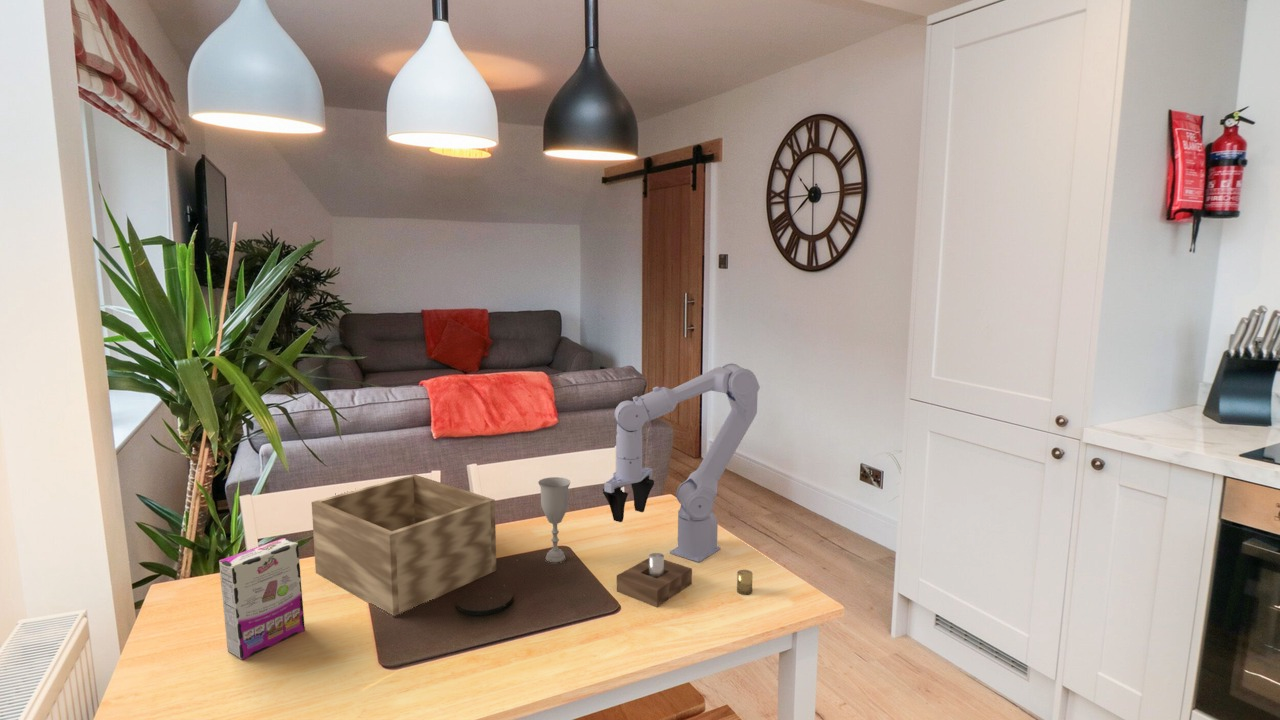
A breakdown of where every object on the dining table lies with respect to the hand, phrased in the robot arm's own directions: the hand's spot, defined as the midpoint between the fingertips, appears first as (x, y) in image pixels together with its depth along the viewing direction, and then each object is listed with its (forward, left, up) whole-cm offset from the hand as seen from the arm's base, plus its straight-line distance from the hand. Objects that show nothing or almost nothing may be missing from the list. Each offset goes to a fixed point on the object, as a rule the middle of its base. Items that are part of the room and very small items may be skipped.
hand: (629, 515), depth 148 cm
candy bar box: (+65, -28, -10) cm, 71 cm away
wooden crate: (+35, -32, -10) cm, 48 cm away
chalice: (+11, -12, -10) cm, 19 cm away
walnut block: (+8, +13, -10) cm, 18 cm away
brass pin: (-2, +28, -10) cm, 30 cm away
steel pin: (+8, +13, -10) cm, 18 cm away
